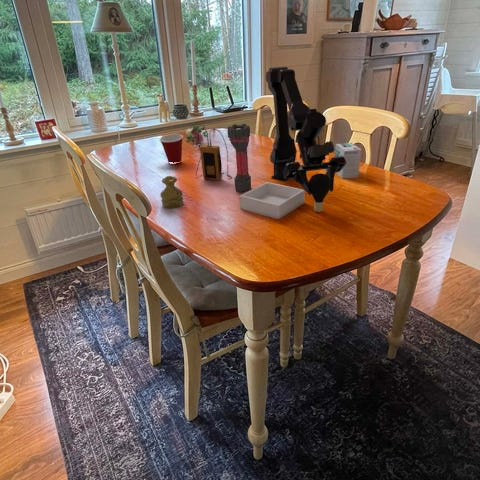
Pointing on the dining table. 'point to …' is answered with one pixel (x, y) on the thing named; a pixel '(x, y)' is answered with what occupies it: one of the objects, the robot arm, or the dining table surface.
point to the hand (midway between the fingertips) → (321, 192)
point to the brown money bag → (171, 194)
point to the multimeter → (211, 160)
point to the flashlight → (241, 155)
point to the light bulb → (319, 189)
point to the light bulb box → (349, 159)
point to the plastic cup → (172, 147)
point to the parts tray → (272, 200)
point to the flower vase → (195, 134)
